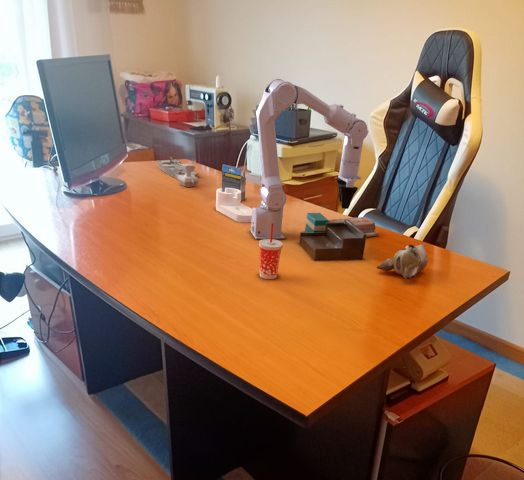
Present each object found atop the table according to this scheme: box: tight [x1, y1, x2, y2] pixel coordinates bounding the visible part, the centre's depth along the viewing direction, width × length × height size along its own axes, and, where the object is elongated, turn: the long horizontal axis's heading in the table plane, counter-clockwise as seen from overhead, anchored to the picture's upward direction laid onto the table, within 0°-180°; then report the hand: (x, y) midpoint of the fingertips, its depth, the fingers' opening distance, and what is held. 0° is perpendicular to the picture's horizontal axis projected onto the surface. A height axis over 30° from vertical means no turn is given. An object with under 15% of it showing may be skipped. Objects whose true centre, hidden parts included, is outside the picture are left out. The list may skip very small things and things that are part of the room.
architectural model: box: [156, 156, 199, 179], centre depth 229 cm, size 12×25×5 cm, turn 35°
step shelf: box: [298, 219, 368, 261], centre depth 155 cm, size 15×15×8 cm
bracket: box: [215, 187, 253, 223], centre depth 181 cm, size 20×9×7 cm, turn 33°
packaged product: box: [328, 216, 380, 238], centre depth 171 cm, size 18×5×10 cm
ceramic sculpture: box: [376, 243, 429, 280], centre depth 143 cm, size 11×9×15 cm
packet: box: [304, 212, 330, 232], centre depth 166 cm, size 5×8×6 cm, turn 14°
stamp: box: [176, 163, 200, 188], centre depth 210 cm, size 9×7×8 cm
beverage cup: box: [258, 224, 284, 280], centre depth 133 cm, size 6×6×14 cm
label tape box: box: [221, 164, 247, 202], centre depth 197 cm, size 9×4×12 cm, turn 58°
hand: (343, 205), depth 166 cm, fingers open, 7 cm apart
